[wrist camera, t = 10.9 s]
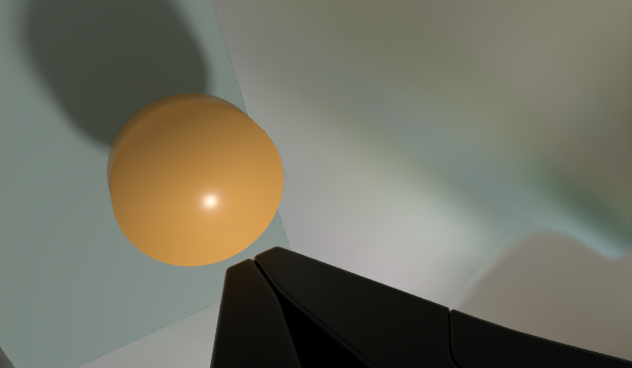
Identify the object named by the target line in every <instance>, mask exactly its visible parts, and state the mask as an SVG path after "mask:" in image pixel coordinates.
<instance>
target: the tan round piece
mask: <svg viewBox="0 0 632 368" xmlns="http://www.w3.org/2000/svg"><path fill="white" fill-rule="evenodd" d="M107 181H108V187H109V192H110V196H111V201H112V206H113V210H114V215H115V217H116V220H117V222H118V225H119V227H120V228H121V230H122V232H123V233H124V235H125V236H126V237H127V238H128V240H129V241H130V242H131V243H132V244H133V245H134V246H135V247H136V248H137V249H139V250H140V251H141V252H143V253H144V254H146V255H148V256H150V257H151V258H153V259H155V260H158V261H161V262H164V263H167V264H172V265H176V266H202V265H209V264H213V263H216V262H220V261H222V260H225V259H228V258H230V257H232V256H234V255H236V254H238V253H239V252H241V251H242V250H244V249H245V248H247V247H248V246H249V245H251V244H252V243H253V242H254V241H255V240H256V239H257V238H258V237H259V236H260V235H261V234H262V233H263V232H264V231H265V229H266V228H267V227H268V225H269V224H270V222H271V221H272V219H273V217H274V215H275V213H276V211H277V209H278V206H279V203H280V200H281V196H282V190H283V168H282V164H281V159H280V156H279V154H278V151H277V149H276V147H275V145H274V144H273V142H272V140H271V139H270V138H269V136H268V135H267V134H266V132H265V131H263V130H262V129H261V128H260V127H259V126H258V125H257V124H256V123H255V122H254V121H253V120H252V119H251V118H250V117H249V116H248V115H247V114H245V113H244V112H243V111H242V110H241V109H239V108H238V107H237V106H235V105H234V104H232V103H230V102H228V101H227V100H224V99H222V98H219V97H216V96H212V95H208V94H201V93H182V94H175V95H171V96H167V97H164V98H161V99H159V100H156V101H154V102H152V103H150V104H149V105H147V106H145V107H143V108H142V109H141V110H139V111H138V112H137V113H136V114H134V115H133V116H132V117H131V118H130V119H129V120H128V121H127V122H126V123H125V125H124V126H123V127H122V129H121V130H120V131H119V133H118V135H117V136H116V138H115V140H114V142H113V145H112V147H111V150H110V153H109V158H108V163H107Z"/></svg>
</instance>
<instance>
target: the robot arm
mask: <svg viewBox="0 0 632 368" xmlns="http://www.w3.org/2000/svg"><path fill="white" fill-rule="evenodd" d="M210 368H632V361H629V360H626V359H622V358H618V357H614V356H610V355H606V354H602V353H598V352H594V351H590V350H586V349H582V348H578V347H575V346H571V345H566V344H563V343H559V342H555V341H551V340H548V339H545V338H541V337H537V336H534V335H530V334H527V333H523V332H519V331H516V330H512V329H509V328H507V327H503V326H500V325H497V324H494V323H491V322H488V321H485V320H482V319H479V318H476V317H474V316H471V315H468V314H465V313H462V312H459V311H457V310H454V309H453V310H451V311H450V310H449V308H448V307H445V306H443V305H440V304H437V303H434V302H432V301H429V300H426V299H423V298H420V297H418V296H415V295H412V294H409V293H407V292H404V291H401V290H398V289H396V288H393V287H390V286H387V285H385V284H382V283H379V282H376V281H374V280H371V279H368V278H365V277H362V276H360V275H357V274H354V273H351V272H349V271H346V270H343V269H340V268H338V267H335V266H332V265H329V264H327V263H324V262H321V261H318V260H315V259H313V258H310V257H307V256H304V255H302V254H299V253H296V252H293V251H291V250H288V249H285V248H282V247H279V246H275V247H273V248H270V249H268V250H266V251H264V252H262V253H259V254H257V255H256V256H255V257H254V260H252V259H246V260H244V261H241V262H239V263H237V264H235V265H232V266H230V267H228V268H227V270H226V273H225V279H224V285H223V291H222V297H221V304H220V310H219V316H218V322H217V328H216V334H215V340H214V346H213V352H212V359H211V365H210Z"/></svg>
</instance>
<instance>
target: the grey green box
mask: <svg viewBox="0 0 632 368" xmlns="http://www.w3.org/2000/svg"><path fill="white" fill-rule="evenodd" d="M182 93H201V94H208V95H212V96H216V97H219V98H222V99H224V100H227V101H228V102H230V103H232V104H234V105H235V106H237V107H238V108H239V109H241V110H242V111H243V112H244V113H245V114H247V115H248V113H247V110H246V107H245V104H244V101H243V98H242V94H241V91H240V88H239V85H238V82H237V79H236V75H235V72H234V69H233V66H232V63H231V60H230V57H229V53H228V50H227V47H226V44H225V41H224V38H223V34H222V31H221V28H220V25H219V22H218V19H217V15H216V12H215V9H214V6H213V3H212V0H0V347H1V349H2V350H3V352H4V353H5V354H6V356H7V357H8V359H9V360H10V362H11V363H12V364H13V366H14V367H15V368H77V367H79V366H81V365H83V364H86V363H88V362H90V361H92V360H94V359H96V358H99V357H101V356H103V355H105V354H107V353H109V352H112V351H114V350H116V349H118V348H120V347H122V346H125V345H127V344H129V343H131V342H133V341H135V340H138V339H140V338H142V337H144V336H146V335H148V334H150V333H153V332H155V331H157V330H159V329H161V328H163V327H166V326H168V325H170V324H172V323H174V322H176V321H179V320H181V319H183V318H185V317H187V316H189V315H192V314H194V313H196V312H198V311H200V310H202V309H205V308H207V307H209V306H211V305H213V304H215V303H218V302H220V301H221V297H222V291H223V285H224V279H225V273H226V270H227V268H228V267H230V266H232V265H235V264H237V263H239V262H241V261H244V260H246V259H252V260H254V257H255V256H256V255H257V254H259V253H262V252H264V251H266V250H268V249H270V248H273V247H275V246H279V247H282V248H285V249H288V250H291V249H290V246H289V243H288V240H287V237H286V233H285V230H284V227H283V224H282V221H281V218H280V215H279V211H278V209H277V211H276V213H275V215H274V217H273V219H272V221H271V222H270V224H269V225H268V227H267V228H266V229H265V231H264V232H263V233H262V234H261V235H260V236H259V237H258V238H257V239H256V240H255V241H254V242H253V243H252V244H251V245H249V246H248V247H247V248H245V249H244V250H242V251H241V252H239V253H238V254H236V255H234V256H232V257H230V258H228V259H225V260H222V261H220V262H216V263H213V264H209V265H202V266H176V265H172V264H167V263H164V262H161V261H158V260H155V259H153V258H151V257H150V256H148V255H146V254H144V253H143V252H141V251H140V250H139V249H137V248H136V247H135V246H134V245H133V244H132V243H131V242H130V241H129V240H128V238H127V237H126V236H125V235H124V233H123V232H122V230H121V228H120V227H119V225H118V222H117V220H116V217H115V215H114V210H113V206H112V201H111V196H110V192H109V187H108V181H107V163H108V158H109V153H110V150H111V147H112V145H113V142H114V140H115V138H116V136H117V135H118V133H119V131H120V130H121V129H122V127H123V126H124V125H125V123H126V122H127V121H128V120H129V119H130V118H131V117H132V116H133V115H134V114H136V113H137V112H138V111H139V110H141V109H142V108H143V107H145V106H147V105H149V104H150V103H152V102H154V101H156V100H159V99H161V98H164V97H167V96H171V95H175V94H182Z"/></svg>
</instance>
